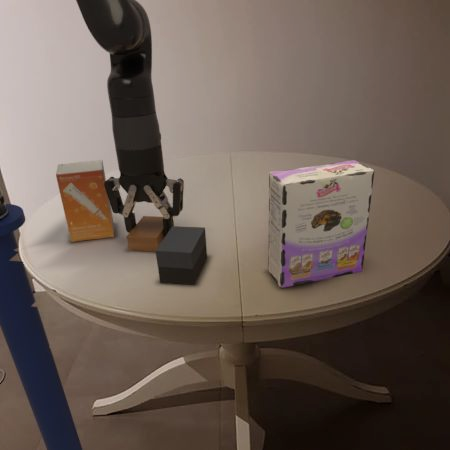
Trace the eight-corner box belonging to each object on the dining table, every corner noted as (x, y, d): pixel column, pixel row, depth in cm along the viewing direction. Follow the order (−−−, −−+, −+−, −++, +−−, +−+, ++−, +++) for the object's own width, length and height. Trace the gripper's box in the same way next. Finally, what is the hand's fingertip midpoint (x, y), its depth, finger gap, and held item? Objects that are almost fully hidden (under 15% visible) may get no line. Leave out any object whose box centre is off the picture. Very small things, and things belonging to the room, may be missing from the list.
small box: (71, 243, 87) (54, 174, 80) (72, 229, 92) (56, 163, 85) (115, 237, 88) (102, 169, 81) (114, 224, 93) (102, 158, 86)
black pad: (194, 284, 72) (192, 269, 71) (159, 282, 73) (157, 266, 72) (207, 257, 80) (206, 242, 78) (175, 255, 81) (174, 241, 79)
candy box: (345, 257, 78) (355, 158, 69) (363, 273, 73) (377, 169, 64) (266, 271, 75) (267, 169, 66) (280, 289, 70) (283, 182, 61)
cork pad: (158, 252, 82) (156, 237, 81) (128, 250, 83) (126, 236, 82) (173, 230, 90) (171, 216, 88) (145, 229, 91) (143, 215, 89)
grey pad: (192, 269, 71) (191, 252, 69) (157, 266, 72) (155, 250, 70) (206, 242, 78) (205, 227, 77) (174, 241, 79) (172, 225, 78)
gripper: (87, 147, 75) (106, 242, 84) (173, 148, 72) (183, 246, 81) (106, 135, 81) (121, 224, 90) (186, 136, 78) (194, 228, 88)
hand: (151, 234), depth 86 cm, fingers open, 6 cm apart
